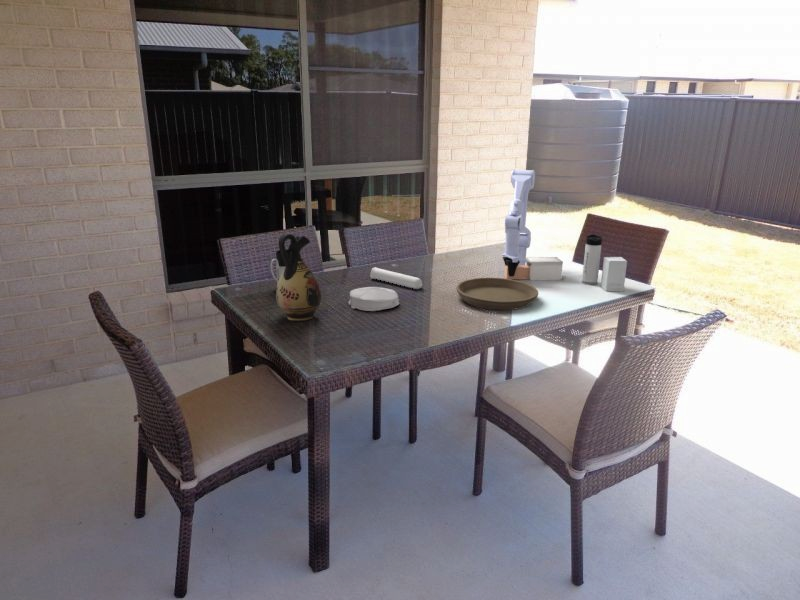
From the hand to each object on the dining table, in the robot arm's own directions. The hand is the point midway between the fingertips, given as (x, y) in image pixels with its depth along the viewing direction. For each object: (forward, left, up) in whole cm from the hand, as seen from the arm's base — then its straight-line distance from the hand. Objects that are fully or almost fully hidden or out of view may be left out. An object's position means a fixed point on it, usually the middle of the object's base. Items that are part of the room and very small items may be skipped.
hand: (510, 274), depth 261 cm
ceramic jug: (+47, -86, -2) cm, 98 cm away
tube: (+7, -49, -2) cm, 50 cm away
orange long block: (0, +6, -1) cm, 6 cm away
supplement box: (+18, +38, -2) cm, 42 cm away
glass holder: (+13, -95, -2) cm, 96 cm away
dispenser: (0, +14, -1) cm, 14 cm away
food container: (+32, -59, -2) cm, 67 cm away
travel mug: (+9, +32, -2) cm, 33 cm away
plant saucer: (+29, -12, -2) cm, 32 cm away
